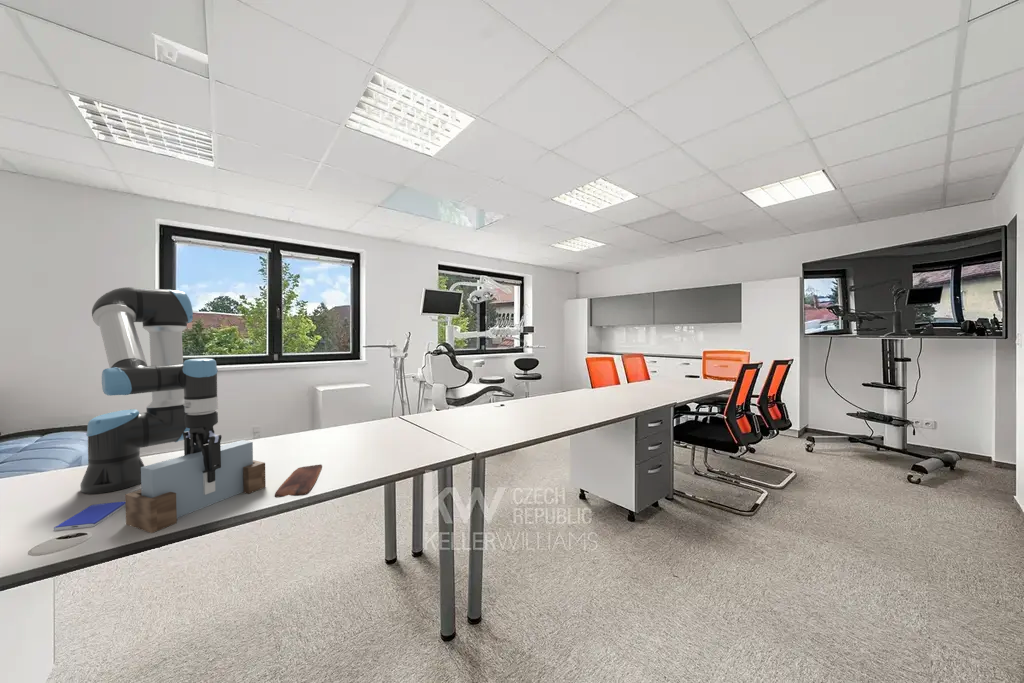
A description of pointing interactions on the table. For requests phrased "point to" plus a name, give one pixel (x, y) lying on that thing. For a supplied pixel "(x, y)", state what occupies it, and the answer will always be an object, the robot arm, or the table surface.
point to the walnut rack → (163, 507)
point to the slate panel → (198, 477)
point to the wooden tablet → (299, 481)
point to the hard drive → (91, 516)
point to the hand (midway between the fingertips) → (203, 490)
